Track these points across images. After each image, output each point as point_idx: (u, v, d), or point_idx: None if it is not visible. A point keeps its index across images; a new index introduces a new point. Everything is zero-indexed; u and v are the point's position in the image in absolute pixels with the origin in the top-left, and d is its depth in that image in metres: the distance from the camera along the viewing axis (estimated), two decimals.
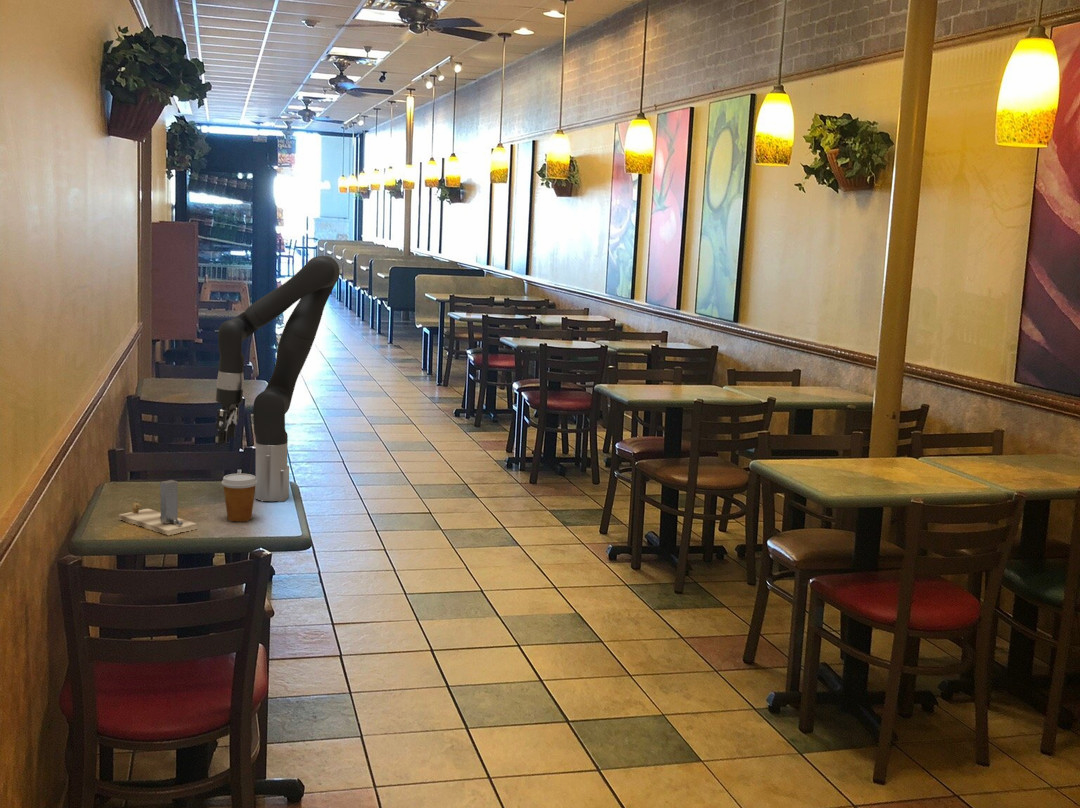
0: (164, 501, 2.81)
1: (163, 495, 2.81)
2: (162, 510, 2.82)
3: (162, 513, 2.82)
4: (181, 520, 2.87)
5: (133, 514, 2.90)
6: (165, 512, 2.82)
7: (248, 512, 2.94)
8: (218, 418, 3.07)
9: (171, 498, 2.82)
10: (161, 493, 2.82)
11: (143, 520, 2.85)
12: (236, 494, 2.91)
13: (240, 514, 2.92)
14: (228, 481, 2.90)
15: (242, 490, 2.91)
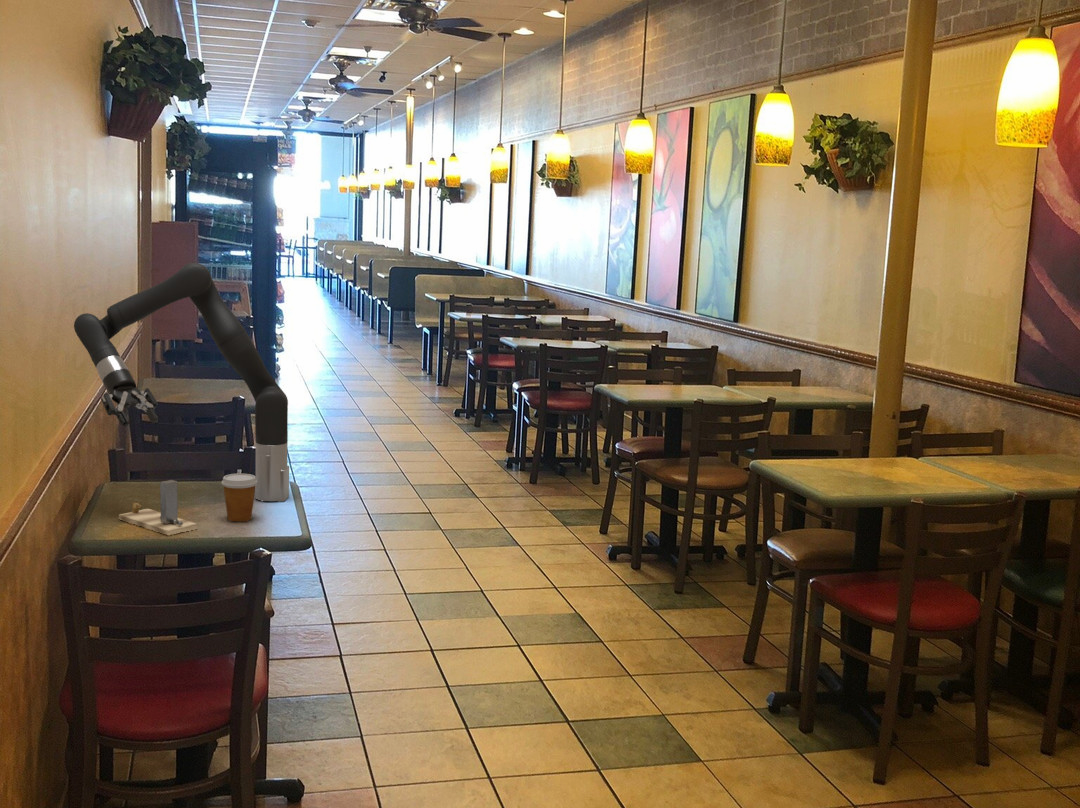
0: (164, 501, 2.81)
1: (163, 495, 2.81)
2: (162, 510, 2.82)
3: (162, 513, 2.82)
4: (181, 520, 2.87)
5: (133, 514, 2.90)
6: (165, 512, 2.82)
7: (248, 512, 2.94)
8: (104, 404, 2.84)
9: (171, 498, 2.82)
10: (161, 493, 2.82)
11: (143, 520, 2.85)
12: (236, 494, 2.91)
13: (240, 514, 2.92)
14: (228, 481, 2.90)
15: (242, 490, 2.91)
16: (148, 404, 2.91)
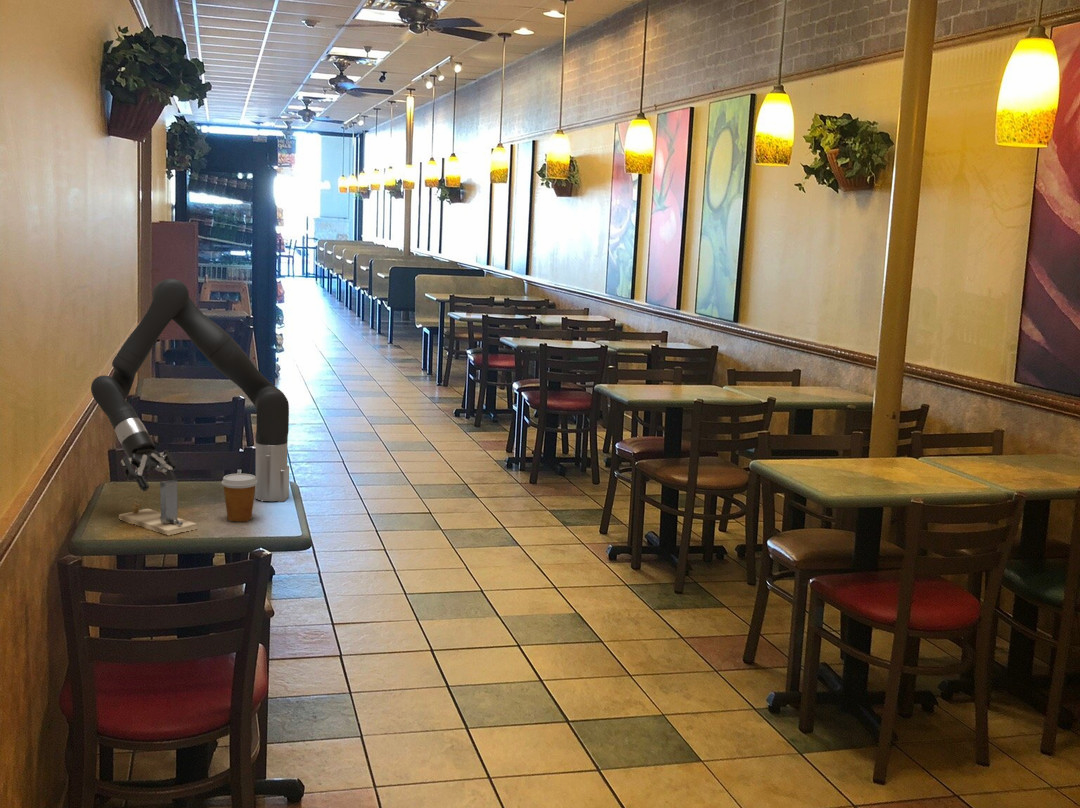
0: (164, 501, 2.81)
1: (163, 495, 2.81)
2: (162, 510, 2.82)
3: (162, 513, 2.82)
4: (181, 520, 2.87)
5: (133, 514, 2.90)
6: (165, 512, 2.82)
7: (248, 512, 2.94)
8: (123, 468, 2.81)
9: (171, 498, 2.82)
10: (161, 493, 2.82)
11: (143, 520, 2.85)
12: (236, 494, 2.91)
13: (240, 514, 2.92)
14: (228, 481, 2.90)
15: (242, 490, 2.91)
16: (167, 466, 2.89)
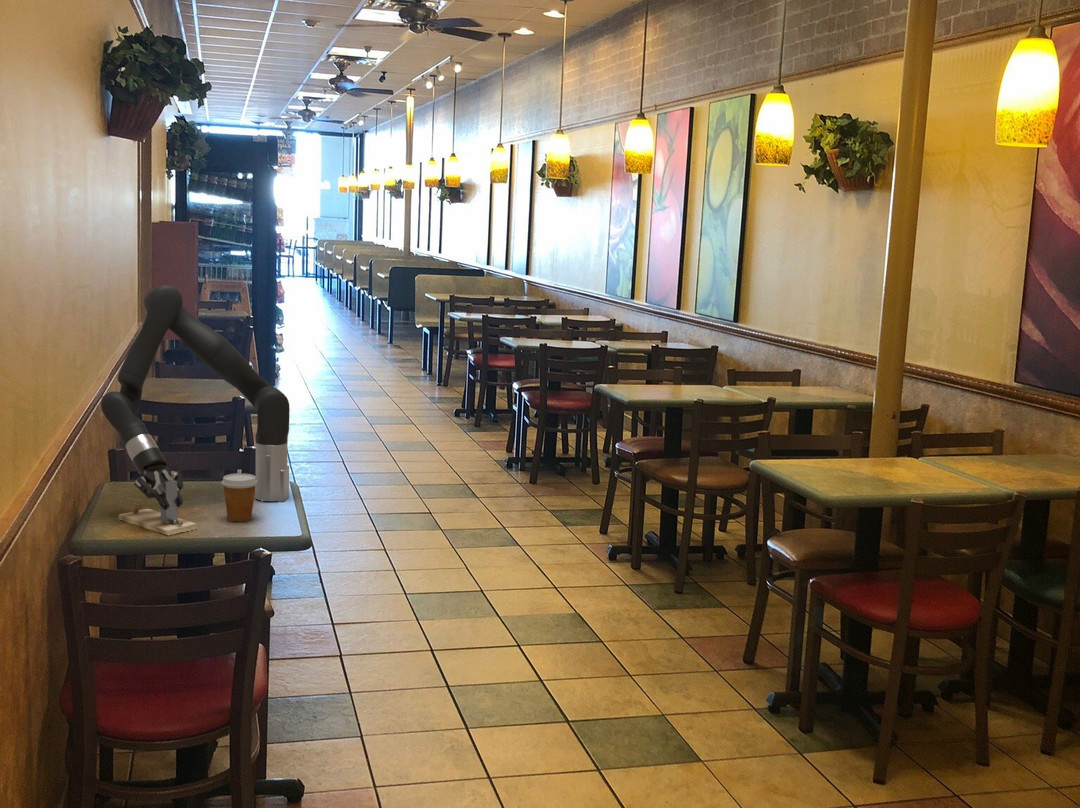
0: None
1: None
2: (162, 510, 2.82)
3: (162, 513, 2.82)
4: (181, 520, 2.87)
5: (133, 514, 2.90)
6: (165, 512, 2.82)
7: (248, 512, 2.94)
8: (141, 489, 2.80)
9: (171, 498, 2.82)
10: None
11: (143, 520, 2.85)
12: (236, 494, 2.91)
13: (240, 514, 2.92)
14: (228, 481, 2.90)
15: (242, 490, 2.91)
16: None
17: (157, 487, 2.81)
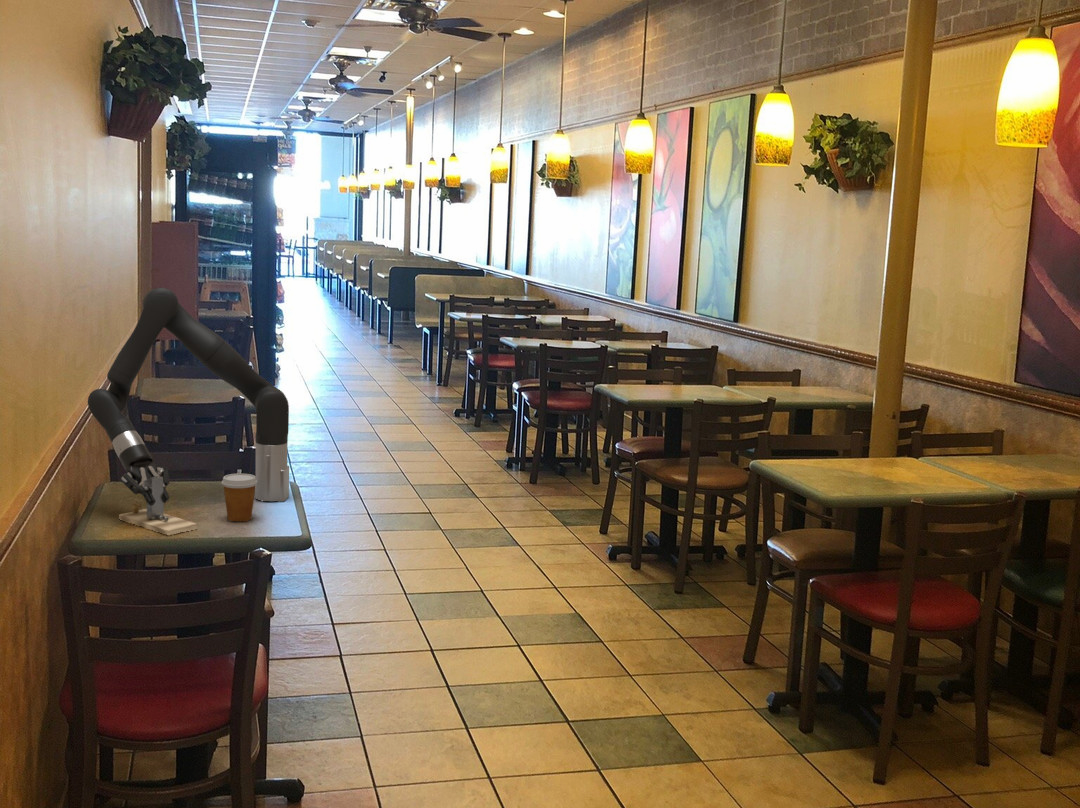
0: None
1: None
2: (148, 506, 2.86)
3: (148, 509, 2.86)
4: (181, 520, 2.87)
5: (133, 514, 2.90)
6: (151, 508, 2.85)
7: (248, 512, 2.94)
8: (127, 485, 2.83)
9: (157, 494, 2.85)
10: None
11: (143, 520, 2.85)
12: (236, 494, 2.91)
13: (240, 514, 2.92)
14: (228, 481, 2.90)
15: (242, 490, 2.91)
16: None
17: (143, 483, 2.84)
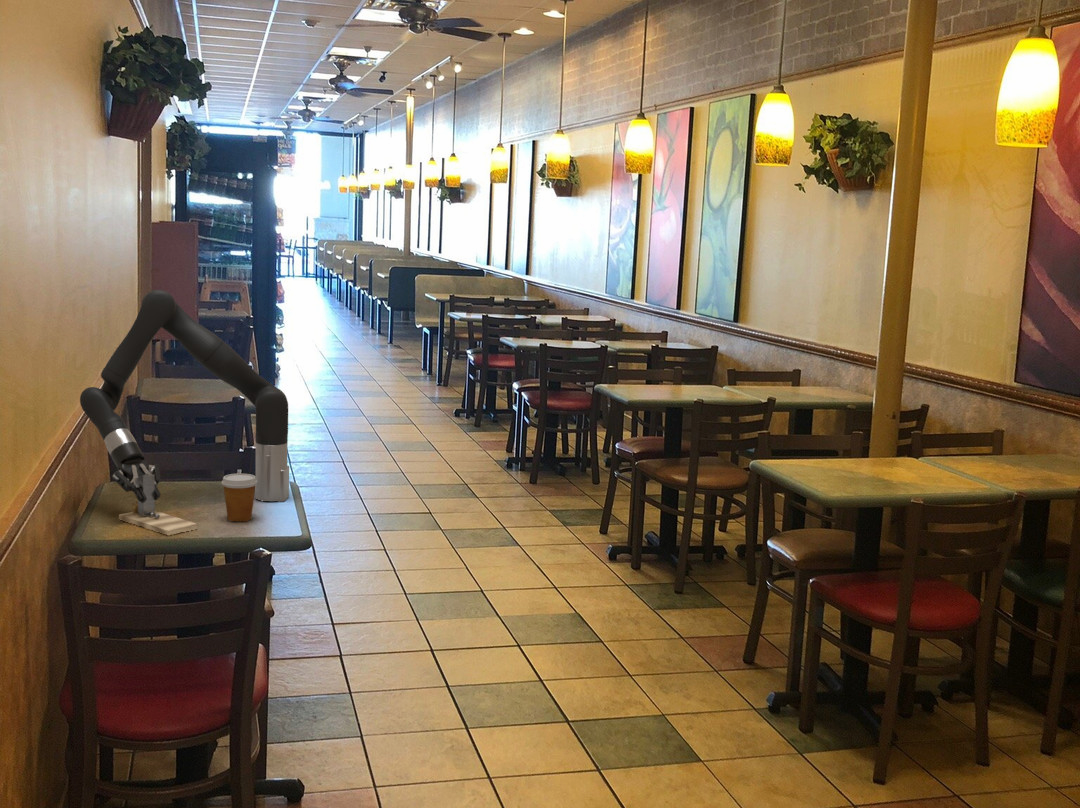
0: None
1: None
2: (139, 503, 2.88)
3: (139, 506, 2.88)
4: (181, 520, 2.87)
5: (133, 514, 2.90)
6: (142, 505, 2.87)
7: (248, 512, 2.94)
8: (118, 482, 2.85)
9: (148, 492, 2.88)
10: None
11: (143, 520, 2.85)
12: (236, 494, 2.91)
13: (240, 514, 2.92)
14: (228, 481, 2.90)
15: (242, 490, 2.91)
16: None
17: (134, 480, 2.87)
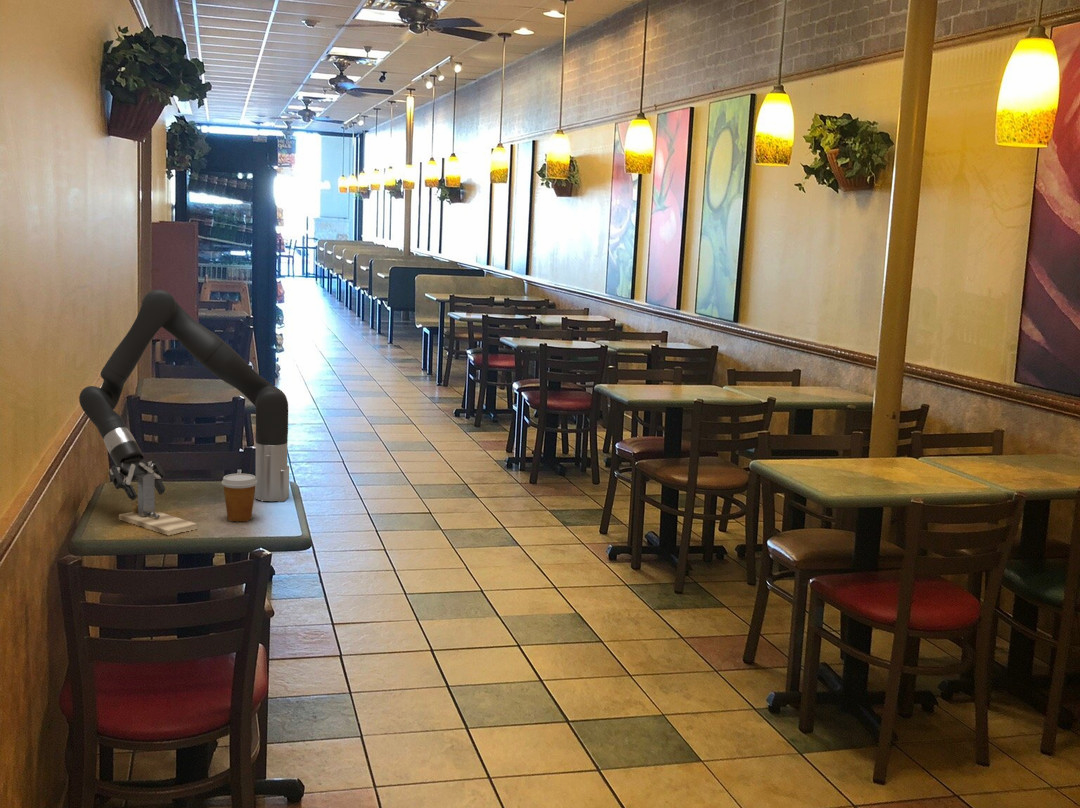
0: (141, 494, 2.87)
1: (140, 488, 2.87)
2: (139, 503, 2.88)
3: (139, 506, 2.88)
4: (181, 520, 2.87)
5: (133, 514, 2.90)
6: (142, 505, 2.87)
7: (248, 512, 2.94)
8: (112, 478, 2.85)
9: (148, 492, 2.88)
10: (138, 486, 2.87)
11: (143, 520, 2.85)
12: (236, 494, 2.91)
13: (240, 514, 2.92)
14: (228, 481, 2.90)
15: (242, 490, 2.91)
16: (155, 475, 2.92)
17: (127, 478, 2.86)
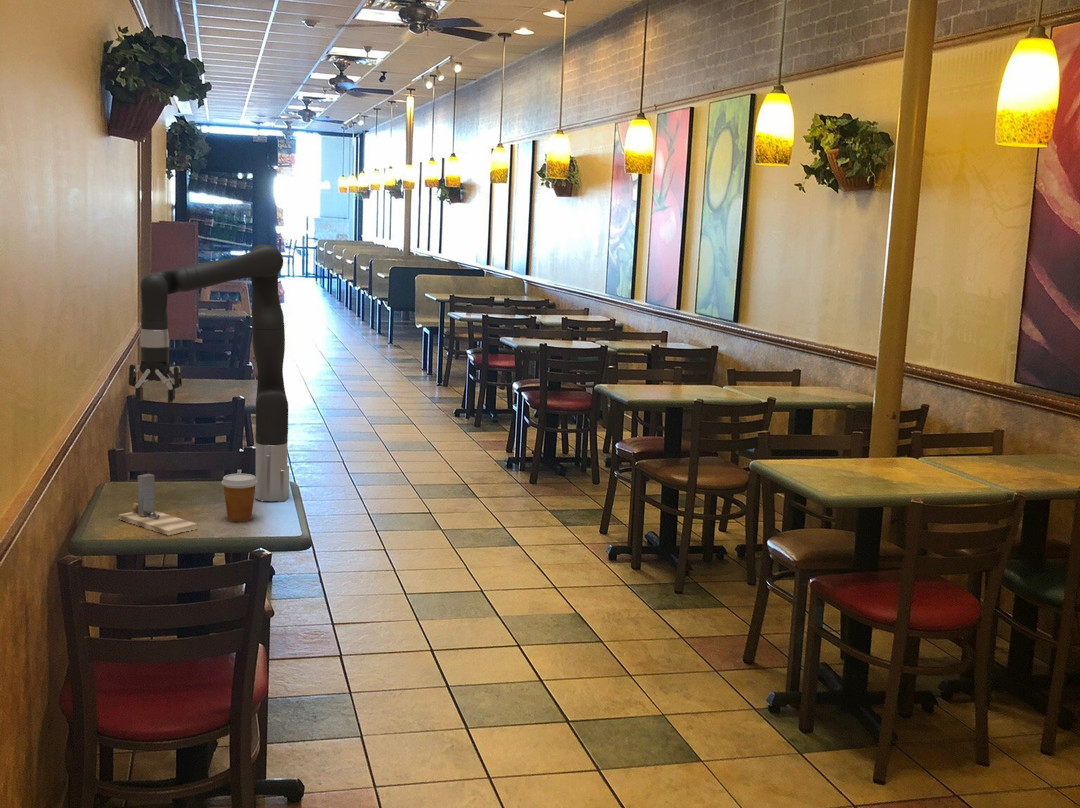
0: (141, 494, 2.87)
1: (140, 488, 2.87)
2: (139, 503, 2.88)
3: (139, 506, 2.88)
4: (181, 520, 2.87)
5: (133, 514, 2.90)
6: (142, 505, 2.87)
7: (248, 512, 2.94)
8: None
9: (148, 492, 2.88)
10: (138, 486, 2.87)
11: (143, 520, 2.85)
12: (236, 494, 2.91)
13: (240, 514, 2.92)
14: (228, 481, 2.90)
15: (242, 490, 2.91)
16: (168, 385, 3.00)
17: (139, 381, 3.00)
